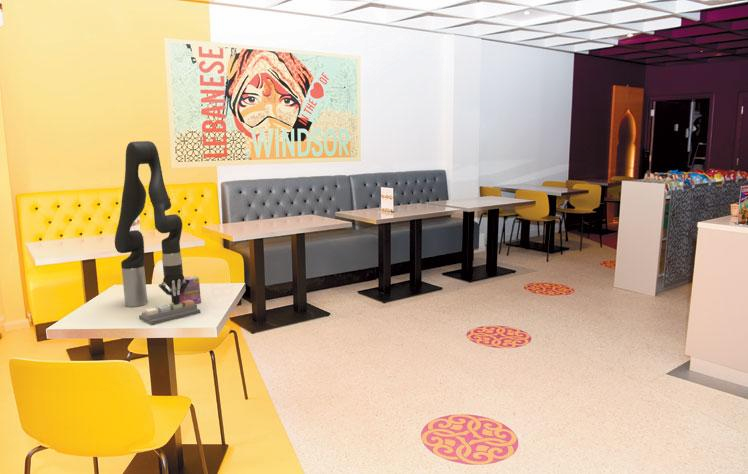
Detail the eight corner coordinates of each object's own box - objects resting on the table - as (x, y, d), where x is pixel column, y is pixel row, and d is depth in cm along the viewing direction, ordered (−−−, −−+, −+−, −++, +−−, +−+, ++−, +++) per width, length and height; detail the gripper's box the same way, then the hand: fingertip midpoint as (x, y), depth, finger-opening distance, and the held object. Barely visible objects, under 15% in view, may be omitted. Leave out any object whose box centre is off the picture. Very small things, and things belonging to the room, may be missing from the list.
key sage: (169, 308, 234) (169, 304, 234) (178, 306, 237) (178, 302, 236) (173, 310, 231) (173, 305, 231) (182, 308, 234) (182, 303, 234)
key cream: (145, 313, 227) (144, 309, 226) (154, 311, 229) (153, 307, 229) (149, 315, 224) (148, 311, 224) (158, 313, 227) (157, 309, 226)
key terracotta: (181, 305, 237) (181, 301, 237) (189, 303, 240) (189, 299, 240) (185, 307, 235) (185, 303, 234) (194, 305, 237) (193, 301, 237)
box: (178, 307, 245) (175, 281, 243) (174, 304, 250) (171, 278, 248) (201, 303, 251) (199, 277, 249) (197, 300, 256) (195, 275, 254)
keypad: (139, 318, 230) (138, 311, 229) (187, 307, 244) (186, 300, 244) (151, 325, 221) (150, 317, 221) (200, 313, 236) (199, 305, 235)
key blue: (157, 311, 230) (157, 306, 230) (166, 309, 233) (166, 304, 233) (161, 312, 228) (161, 308, 227) (170, 310, 230) (170, 306, 230)
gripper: (183, 259, 238) (186, 298, 241) (152, 264, 229) (156, 305, 231) (191, 261, 232) (195, 302, 235) (160, 267, 223) (164, 309, 226)
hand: (176, 303), depth 233 cm, fingers closed
